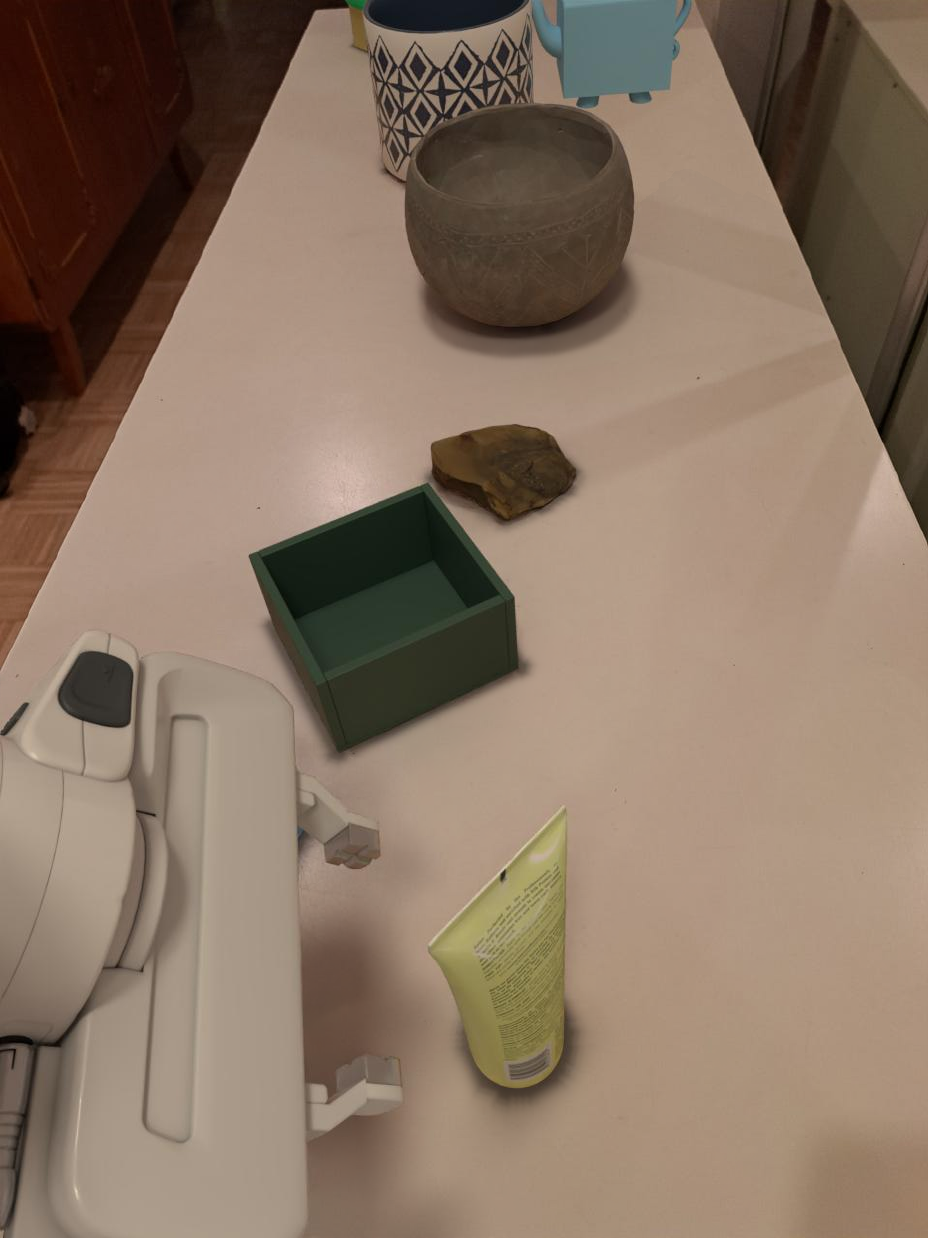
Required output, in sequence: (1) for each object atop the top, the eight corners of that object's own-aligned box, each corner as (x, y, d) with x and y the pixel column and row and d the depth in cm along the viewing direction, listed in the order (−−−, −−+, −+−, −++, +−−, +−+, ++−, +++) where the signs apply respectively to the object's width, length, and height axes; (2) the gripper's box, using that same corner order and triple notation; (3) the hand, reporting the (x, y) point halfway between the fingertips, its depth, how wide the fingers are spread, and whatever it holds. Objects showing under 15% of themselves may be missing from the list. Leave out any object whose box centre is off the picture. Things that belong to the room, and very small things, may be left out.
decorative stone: (525, 425, 81) (523, 391, 79) (591, 484, 76) (592, 450, 73) (419, 474, 78) (414, 441, 76) (480, 540, 73) (477, 506, 70)
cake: (342, 48, 139) (329, -32, 131) (399, 25, 143) (390, -54, 135) (383, 65, 134) (372, -17, 126) (441, 41, 138) (434, -40, 130)
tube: (470, 978, 52) (435, 802, 37) (564, 979, 52) (567, 802, 37) (466, 1091, 48) (425, 946, 33) (567, 1093, 48) (571, 948, 33)
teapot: (676, 66, 126) (687, -58, 115) (691, 102, 119) (704, -27, 108) (510, 81, 127) (505, -40, 116) (514, 117, 120) (510, -9, 109)
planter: (427, 208, 107) (409, 47, 94) (358, 150, 117) (334, -2, 105) (564, 161, 111) (565, 1, 99) (486, 109, 122) (477, -42, 109)
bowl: (453, 385, 86) (437, 226, 74) (389, 273, 99) (367, 122, 87) (665, 328, 89) (681, 166, 77) (577, 226, 102) (579, 74, 90)
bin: (338, 753, 62) (315, 685, 56) (273, 625, 69) (247, 554, 63) (518, 668, 65) (515, 596, 59) (438, 555, 72) (428, 481, 67)
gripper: (0, 1281, 21) (472, 1257, 29) (99, 591, 34) (405, 704, 42) (-98, 1330, 24) (350, 1297, 32) (27, 684, 37) (323, 772, 45)
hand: (381, 957), depth 37 cm, fingers open, 8 cm apart
